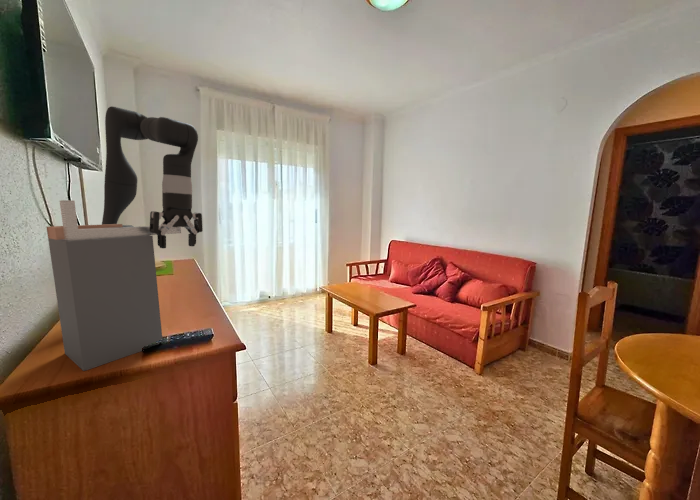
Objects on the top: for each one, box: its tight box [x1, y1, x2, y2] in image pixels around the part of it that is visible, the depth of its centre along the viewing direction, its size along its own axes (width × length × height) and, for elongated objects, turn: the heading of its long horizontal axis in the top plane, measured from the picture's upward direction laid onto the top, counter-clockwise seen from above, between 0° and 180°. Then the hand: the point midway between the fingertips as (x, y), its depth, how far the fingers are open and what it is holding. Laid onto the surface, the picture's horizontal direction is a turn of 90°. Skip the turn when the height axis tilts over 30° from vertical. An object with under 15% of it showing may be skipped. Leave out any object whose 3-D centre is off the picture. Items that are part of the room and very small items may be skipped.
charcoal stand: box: [46, 223, 163, 372], centre depth 82 cm, size 16×18×35 cm
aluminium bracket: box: [59, 199, 182, 241], centre depth 81 cm, size 3×26×10 cm, turn 146°
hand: (177, 247), depth 88 cm, fingers open, 8 cm apart
